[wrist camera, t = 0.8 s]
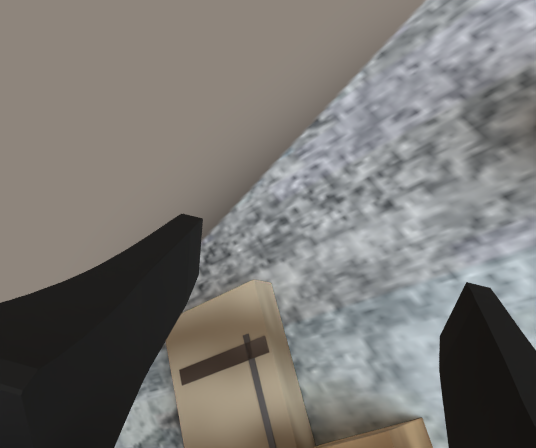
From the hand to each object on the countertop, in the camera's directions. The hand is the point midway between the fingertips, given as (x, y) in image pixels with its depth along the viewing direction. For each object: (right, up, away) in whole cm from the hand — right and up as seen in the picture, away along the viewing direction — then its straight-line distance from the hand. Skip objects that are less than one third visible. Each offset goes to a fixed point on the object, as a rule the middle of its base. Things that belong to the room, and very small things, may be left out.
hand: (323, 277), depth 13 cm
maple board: (-2, -13, +16) cm, 21 cm away
